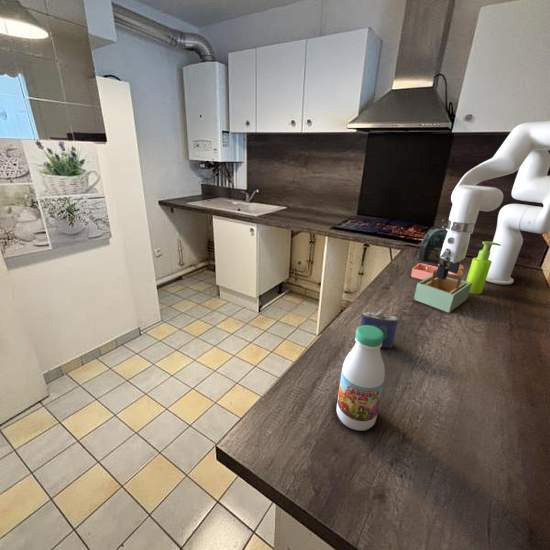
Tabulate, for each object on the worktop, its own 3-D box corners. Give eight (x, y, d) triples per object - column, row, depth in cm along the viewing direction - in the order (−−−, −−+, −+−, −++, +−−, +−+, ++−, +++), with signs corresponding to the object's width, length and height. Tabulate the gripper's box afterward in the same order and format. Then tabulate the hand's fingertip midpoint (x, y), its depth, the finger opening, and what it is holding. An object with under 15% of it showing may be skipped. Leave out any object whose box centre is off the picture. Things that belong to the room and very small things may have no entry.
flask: (392, 344, 80) (399, 310, 76) (393, 350, 78) (400, 316, 74) (357, 338, 83) (362, 305, 79) (357, 344, 80) (362, 310, 76)
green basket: (433, 289, 114) (437, 272, 112) (466, 300, 106) (472, 282, 103) (413, 300, 105) (417, 283, 102) (448, 314, 96) (454, 295, 94)
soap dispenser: (486, 296, 109) (504, 245, 101) (466, 294, 110) (482, 243, 103) (480, 289, 115) (496, 240, 107) (460, 287, 116) (475, 239, 108)
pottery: (410, 277, 124) (415, 255, 121) (417, 271, 131) (422, 250, 127) (458, 290, 114) (465, 266, 110) (463, 282, 120) (469, 260, 116)
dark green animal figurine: (442, 254, 155) (451, 216, 147) (453, 258, 149) (463, 219, 141) (414, 258, 147) (423, 219, 139) (425, 263, 142) (435, 222, 134)
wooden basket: (435, 290, 112) (442, 265, 108) (460, 298, 106) (468, 272, 102) (420, 299, 104) (426, 273, 100) (445, 309, 98) (453, 282, 94)
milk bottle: (331, 401, 62) (342, 320, 54) (367, 399, 62) (382, 318, 54) (342, 433, 55) (356, 345, 47) (382, 430, 55) (402, 343, 47)
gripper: (462, 233, 87) (447, 285, 93) (482, 226, 97) (467, 273, 104) (436, 227, 92) (424, 277, 99) (458, 221, 102) (445, 267, 109)
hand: (446, 275), depth 101 cm, fingers open, 9 cm apart
